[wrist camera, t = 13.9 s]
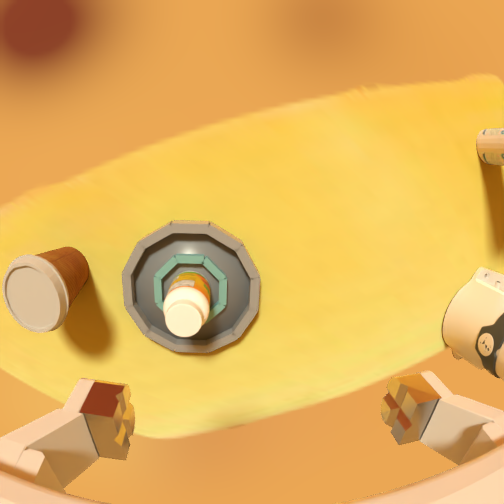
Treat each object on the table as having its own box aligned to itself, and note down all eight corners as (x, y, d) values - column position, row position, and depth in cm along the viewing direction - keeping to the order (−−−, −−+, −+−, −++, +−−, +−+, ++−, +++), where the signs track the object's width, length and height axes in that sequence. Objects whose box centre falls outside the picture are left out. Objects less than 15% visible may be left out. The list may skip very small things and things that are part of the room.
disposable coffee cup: (66, 308, 43) (30, 347, 31) (33, 255, 40) (-12, 281, 28) (111, 280, 42) (79, 316, 31) (76, 222, 40) (32, 241, 28)
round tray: (261, 222, 42) (263, 225, 40) (253, 344, 47) (255, 353, 44) (124, 219, 40) (119, 222, 38) (133, 340, 45) (129, 348, 42)
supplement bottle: (213, 305, 44) (212, 340, 34) (174, 309, 43) (164, 344, 34) (208, 267, 42) (205, 295, 33) (167, 272, 42) (154, 300, 32)
